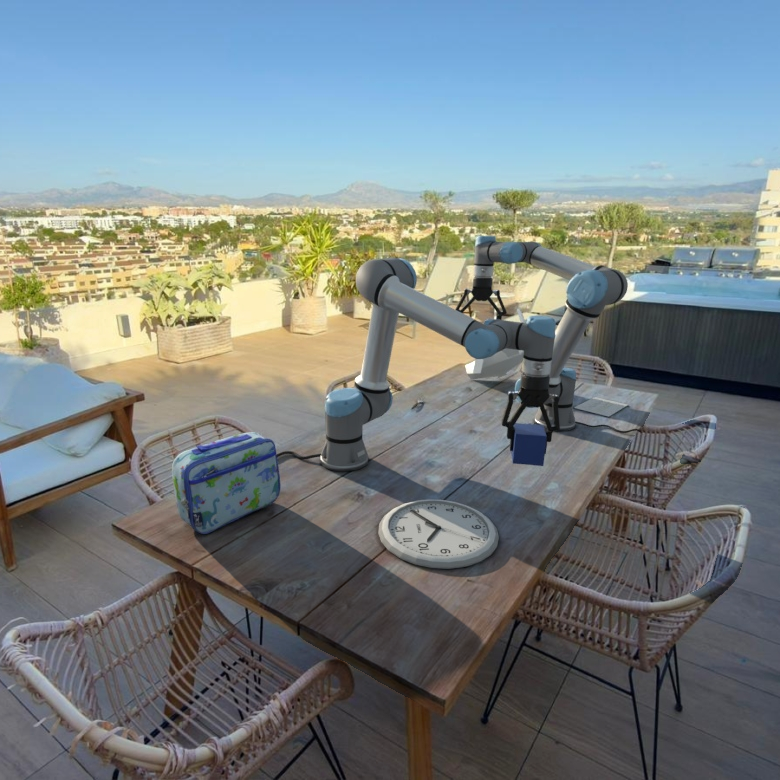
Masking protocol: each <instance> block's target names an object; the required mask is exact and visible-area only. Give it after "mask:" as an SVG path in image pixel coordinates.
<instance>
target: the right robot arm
mask: <svg viewBox="0 0 780 780" xmlns="http://www.w3.org/2000/svg"><path fill="white" fill-rule="evenodd" d="M496 240H497V239H496V236H495V235H478V236H477V237H476V238H475V244H474V261H473V276H474V277H473V278H472V288H471V289H470V288H469V289H468V288H464V292H463V294H462V296H461V298H460V300H459V302H458V304H457V306H456V307H455V308H454V309H455V310H457V311H459V312H461V313H463V314H465V311H466V310H467V309H468V308H469V307H470V306H471V305H472V304H473V303H474V302H475V301H476V302H486V301H488V303H489V305H491V307H492V308H493V309H494V311H495V312H496V313H497V314H496V318H495V319H500V320H503V319H502V318H503V316H504V315H506V314H507V313H508V312H507V309H506V306H505V305H504V303H503V300H502V297H501V292H500V289H495V290H493V280H494V278H493V276H494V265H495V263H501V264H506V265H510V264H518V263H525V264H528V265H531V266H533V267H535V268H537V269H541V270H543V271H546V272H548V273H550V274H553V275H555V276H558V277H560V278H563V279H565V280H567V281H568V283H567V286H566V289H565V290H566V291H565V293H566V301H565V302H564V304H565V306H566V310H565V312H564V314H563V316H562V317H561V319H560V321H559V323H558V325H557V327H556V328H555V335H556V336H555V340H554V347H553V354H552V364H551V373H550V374H549V376H550V382H549V394H553V395H555V394H558V396H559V398H560V399H559V403H558V412H559V424H560V429H559V430H555V431H556V432H567V431H572V430H574V429H575V428H576V424H577V425H581V426H584V427H587V428H600V427H603V428H605V427H606V428H608V429H611V430H613V431H615V432H617V433H620V434H627V433H631V432H635V431H637V432H638V433H640V434H643V431H642V430H641V429H639V428H632V429H628V430H619V429H616V428H615V427H613V426H611V425H608V424H597V425H591V424H587V423H584V422H581V421H576V418H575V417H576V416H575V413H574V407H573V405H574V398H575V391H576V383H577V372H576V370H575V369H573V368H571V367H570V368H569V367H566V364H567V362H568V361H569V359H570V357H571V356H572V354H573V352H574V351H575V349H576V347H577V346H578V344H579V342H580V341H581V339H582V337H583V335H584V333H585V332H586V330H587V329H588V327H589V325H590V323H591V321H592V320H597V319H598V318H599V317H600V315H601V314H602V312H603V310H604V309H605V308H606V306H612V305H615V304H616V303H619V302H620V301H621V300H623V298H624V297H625V296H626V294H627V292H628V285H629V283H628V278H627V277H626V275H625V274H624V273H623V272H622V271H621V270H618V269H615V268H612V267H608V266H605V265H603V264H602V265H601V264H599V265H596V266H595V265H594V264H591V263H588V262H585V261H582V260H580V259H577V258H574V257H571V256H568V255H566V254H563V253H561V252H558V251H555V250H552V249H550V248H547V247H545V246H544V247H543V246H542V245H541V244H540V243H539V242H536V241H496ZM470 294H471V295H472V297H471V298H470V299H469V300H468V301H467V303H466V304H465V305H464V306H463V307H462V308H461V306H462V305H463V303H464V302H465V299H466V298H467V296H469V295H470ZM493 295H494V296H495V297H496V298H497V300H498V303H499V305H500V308H501V310H500V308H499V307H498V305H497V304H496V303H495V302H494V300H493V299H492V298H491V296H493ZM514 385H515V386H514V392H518V390H519V389H520V385H521V377H520V378H518V379H517V380H516V382H515V384H514ZM516 400H517V401H518V402H519V403H520V402H521V399H520V397H519V396H517V397H516ZM544 407H545V410H546V413H547V415H548V418H549V421H550V423H551V425H554V418H553V407H552V402H551V400H550V398H548V399H547V400H546V402H545V403H544ZM526 408H529V409H534V408H535V407H527V406H526ZM534 424H536V425H543V426H544V429H547V425H546V423H545V420H544V417H543V415H542V412H541V409H540V407H538V410H537V411H536V413H535V416H534Z"/></svg>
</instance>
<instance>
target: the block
mask: <svg viewBox="0 0 780 780" xmlns="http://www.w3.org/2000/svg"><path fill="white" fill-rule="evenodd" d="M514 427H515V434H514V444H513V451H510V454H511V455H510V456H511V462H512V464H515V465H516V464H517V465H524V466H526V465H527V466H538V467H544V463H545V457H546V454H545V448H546V440H547V435H546V432H545V429H544V426H543V425H536V424H535V423H533V424H532V423H522V422H521V423H519V422H516V423H515V425H514ZM546 449H547V448H546Z"/></svg>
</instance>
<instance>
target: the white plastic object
mask: <svg viewBox="0 0 780 780" xmlns="http://www.w3.org/2000/svg"><path fill="white" fill-rule="evenodd" d="M516 312H517V315H518V318H519V322H521V323H525V322H526V320H525V318H524V315H523V311H522V310H521V308H516ZM523 355H524V351H523V350H515V349H507V348H506V349H504V350H502V351H499V352H497V353H496V354H494V355H493V356H491V357H488V358H484V359H475V358H474V359H475V360H474V361H471V362H470V363H467V364H465V365H464V367H465V370H466V371H465V372H466V375H467V376H468V378H469V379H470V380H477V379H478V380H479V379H486V378H487V379H488V378H496V377H497V379H499V378H502V377H505V376H507V375H508V372H510V371H511V370H513V369H514V368H515V367H517V366H518V365H520V364H521V363H523Z"/></svg>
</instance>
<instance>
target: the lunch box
mask: <svg viewBox="0 0 780 780" xmlns="http://www.w3.org/2000/svg"><path fill="white" fill-rule="evenodd" d="M280 475H281V474H280V467H279V462H278V457H277V448H276V444H275V442H274V441H273V440H272V439H271V438H266V437H264V436H262V435H261V433H260V434H259V433H258V432H254V431H253V432H252V431H250V432H244V433H239V434H235V435H231V436H228V437H224V438H222V439H217V440H214V441H211V442H208V443H205V444H202V445H201V444H199V445H196V447H192V448H190V449H187V450H185V451H182V452H181V453H179V454H178V455H177V456H176V457H175V458H174V460H173V462H172V465H171V477H172V483H173V490H174V491H173V492H174V496H175V503H176V508H177V513H178V516H179V518H180V519H181V521H183V522H185V523H187V524H188V525H189V526H190V527H191V528H192V529H193V531H195V532H197V533H199V534H202V535H206V534H210V533H213V532H214V531H216V530H218V529H220V528H222V527H224V526H226V525H228V524H231V523H233V522H235V521H237V520H239V519H241V518H244V517H245V516H247V515H249V514H251V513H254V512H256V511H258V510H261V509H264V508H266V507H268V506H270V505H272V504H273V503H275V501H277V499H279V495H280V493H281V476H280Z"/></svg>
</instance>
